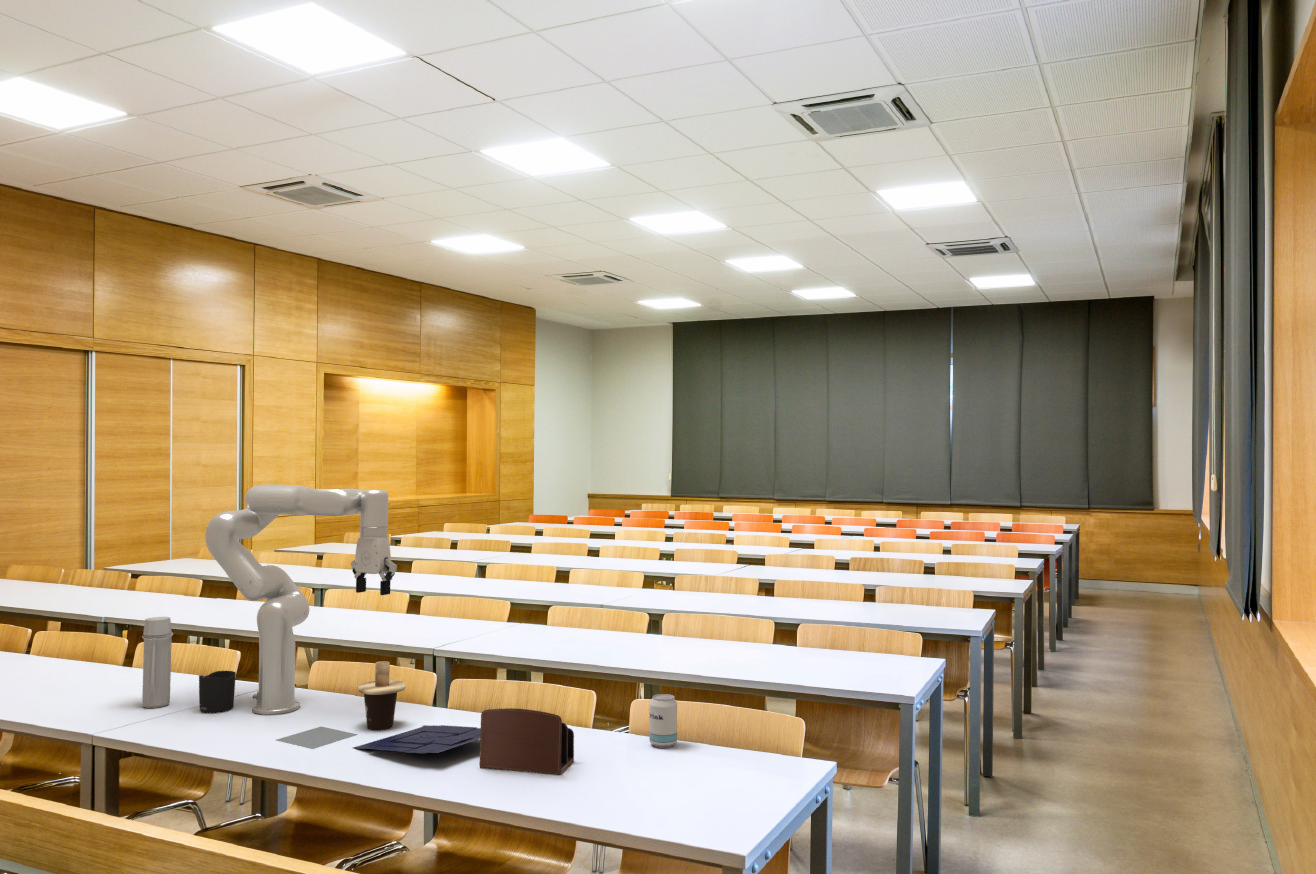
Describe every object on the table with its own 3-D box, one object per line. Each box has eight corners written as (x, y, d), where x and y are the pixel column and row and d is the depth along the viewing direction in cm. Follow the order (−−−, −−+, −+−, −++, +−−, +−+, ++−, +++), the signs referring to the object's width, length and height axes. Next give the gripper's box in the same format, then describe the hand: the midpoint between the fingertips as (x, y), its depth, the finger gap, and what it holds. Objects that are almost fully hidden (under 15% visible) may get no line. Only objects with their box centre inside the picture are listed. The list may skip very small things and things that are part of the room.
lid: (348, 690, 239) (349, 664, 239) (382, 681, 249) (383, 656, 249) (381, 696, 233) (381, 669, 233) (415, 687, 243) (415, 661, 244)
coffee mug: (391, 733, 235) (391, 694, 235) (358, 733, 235) (358, 694, 235) (404, 721, 246) (405, 684, 247) (373, 720, 247) (373, 683, 247)
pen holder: (198, 707, 259) (199, 672, 259) (234, 704, 263) (235, 669, 263) (197, 715, 251) (198, 679, 251) (234, 712, 255) (235, 676, 255)
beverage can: (643, 745, 226) (644, 696, 227) (663, 739, 231) (663, 691, 232) (663, 751, 221) (663, 701, 222) (682, 745, 226) (682, 696, 227)
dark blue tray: (432, 767, 205) (431, 751, 205) (348, 759, 222) (347, 744, 222) (507, 741, 225) (506, 726, 225) (425, 735, 242) (424, 721, 242)
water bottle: (143, 703, 263) (146, 617, 264) (173, 701, 265) (176, 615, 266) (135, 711, 254) (138, 622, 255) (167, 709, 257) (169, 621, 257)
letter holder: (560, 776, 204) (560, 712, 204) (478, 768, 208) (479, 707, 209) (574, 762, 213) (575, 701, 214) (496, 755, 218) (496, 696, 218)
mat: (275, 741, 227) (275, 739, 227) (320, 727, 239) (320, 726, 239) (312, 750, 220) (312, 748, 220) (357, 736, 232) (357, 734, 232)
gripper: (342, 532, 258) (341, 592, 258) (385, 535, 250) (384, 597, 249) (363, 531, 265) (361, 589, 264) (405, 533, 256) (404, 594, 256)
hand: (372, 593), depth 257 cm, fingers open, 9 cm apart
